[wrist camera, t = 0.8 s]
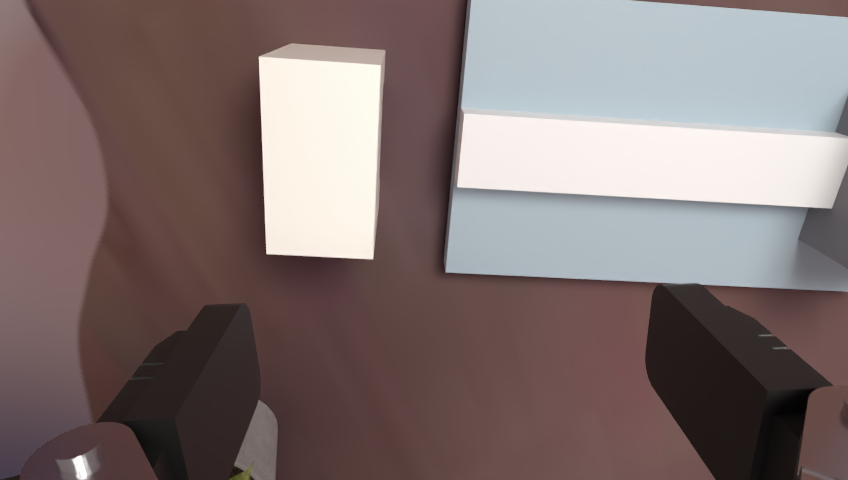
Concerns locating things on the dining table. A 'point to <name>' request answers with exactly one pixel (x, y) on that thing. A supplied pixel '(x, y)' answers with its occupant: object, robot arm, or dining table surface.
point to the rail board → (645, 87)
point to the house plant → (258, 448)
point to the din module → (321, 149)
